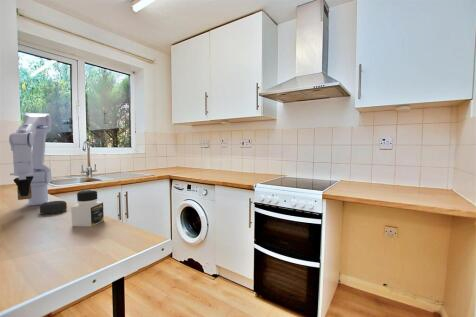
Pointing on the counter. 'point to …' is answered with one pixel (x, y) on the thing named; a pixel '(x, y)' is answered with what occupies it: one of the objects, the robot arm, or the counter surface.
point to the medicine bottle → (87, 209)
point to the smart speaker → (53, 207)
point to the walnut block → (25, 196)
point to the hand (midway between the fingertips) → (24, 194)
